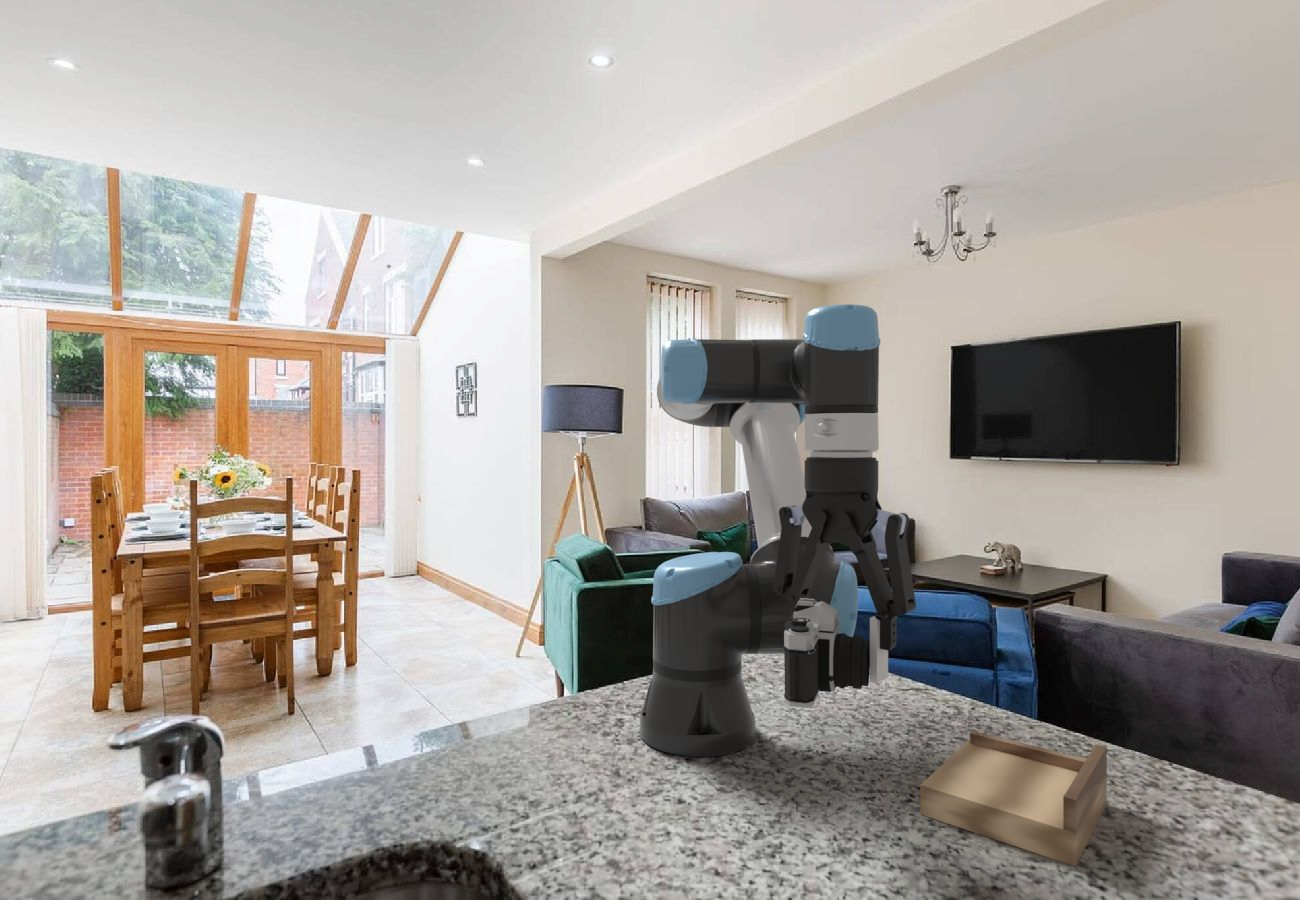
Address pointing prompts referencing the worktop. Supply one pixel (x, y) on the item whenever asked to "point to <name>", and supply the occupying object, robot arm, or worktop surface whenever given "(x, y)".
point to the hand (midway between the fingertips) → (840, 670)
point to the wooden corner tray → (1020, 795)
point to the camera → (821, 654)
